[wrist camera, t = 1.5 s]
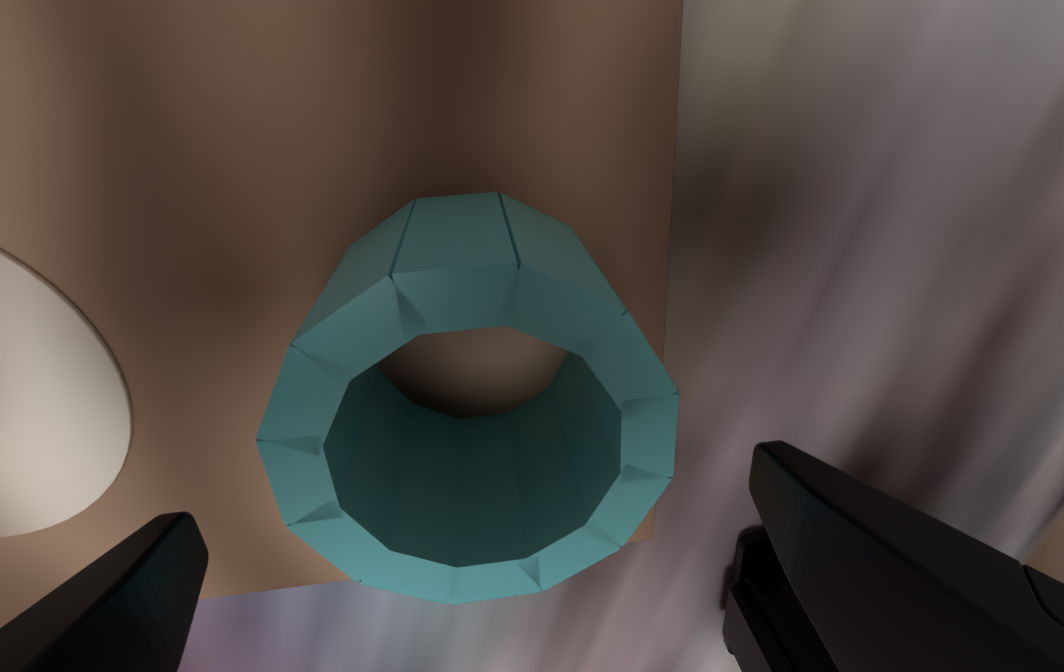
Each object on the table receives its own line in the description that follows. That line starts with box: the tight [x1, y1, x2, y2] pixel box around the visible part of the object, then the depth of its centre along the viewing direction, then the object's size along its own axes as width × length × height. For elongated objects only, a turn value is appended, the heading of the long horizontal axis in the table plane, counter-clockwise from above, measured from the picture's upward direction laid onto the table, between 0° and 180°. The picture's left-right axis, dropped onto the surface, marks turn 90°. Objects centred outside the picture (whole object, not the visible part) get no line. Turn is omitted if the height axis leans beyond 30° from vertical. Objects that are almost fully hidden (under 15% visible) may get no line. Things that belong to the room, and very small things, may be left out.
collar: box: [256, 192, 679, 605], centre depth 12 cm, size 7×7×5 cm
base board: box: [0, 0, 683, 626], centre depth 14 cm, size 24×16×2 cm, turn 93°
